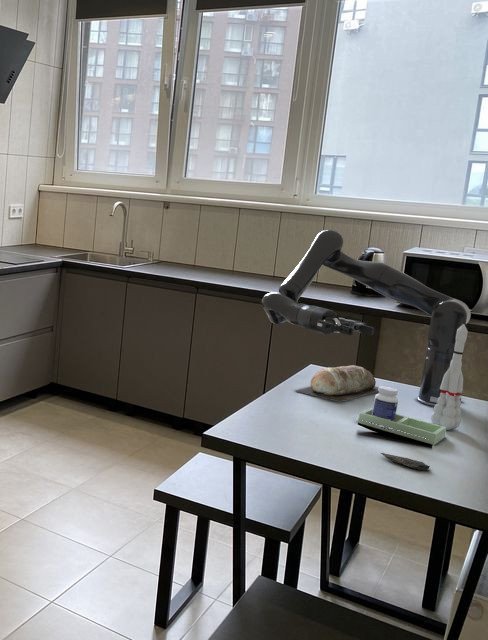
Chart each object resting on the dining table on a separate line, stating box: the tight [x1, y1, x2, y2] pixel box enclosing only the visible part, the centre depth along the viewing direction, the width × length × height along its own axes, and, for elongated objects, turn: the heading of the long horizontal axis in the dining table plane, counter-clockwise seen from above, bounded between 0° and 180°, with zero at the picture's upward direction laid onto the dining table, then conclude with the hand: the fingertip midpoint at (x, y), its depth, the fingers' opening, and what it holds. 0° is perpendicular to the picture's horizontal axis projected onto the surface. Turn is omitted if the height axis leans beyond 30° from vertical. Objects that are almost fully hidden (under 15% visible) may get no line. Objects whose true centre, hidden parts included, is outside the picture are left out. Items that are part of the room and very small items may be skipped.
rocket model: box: [430, 324, 469, 431], centre depth 207 cm, size 7×7×30 cm
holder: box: [357, 406, 447, 446], centre depth 203 cm, size 10×19×3 cm, turn 45°
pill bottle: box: [372, 385, 399, 421], centre depth 206 cm, size 6×6×10 cm
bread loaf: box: [297, 364, 379, 403], centre depth 239 cm, size 35×18×9 cm, turn 136°
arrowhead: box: [380, 452, 431, 471], centre depth 176 cm, size 7×10×1 cm
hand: (362, 331), depth 213 cm, fingers open, 8 cm apart
